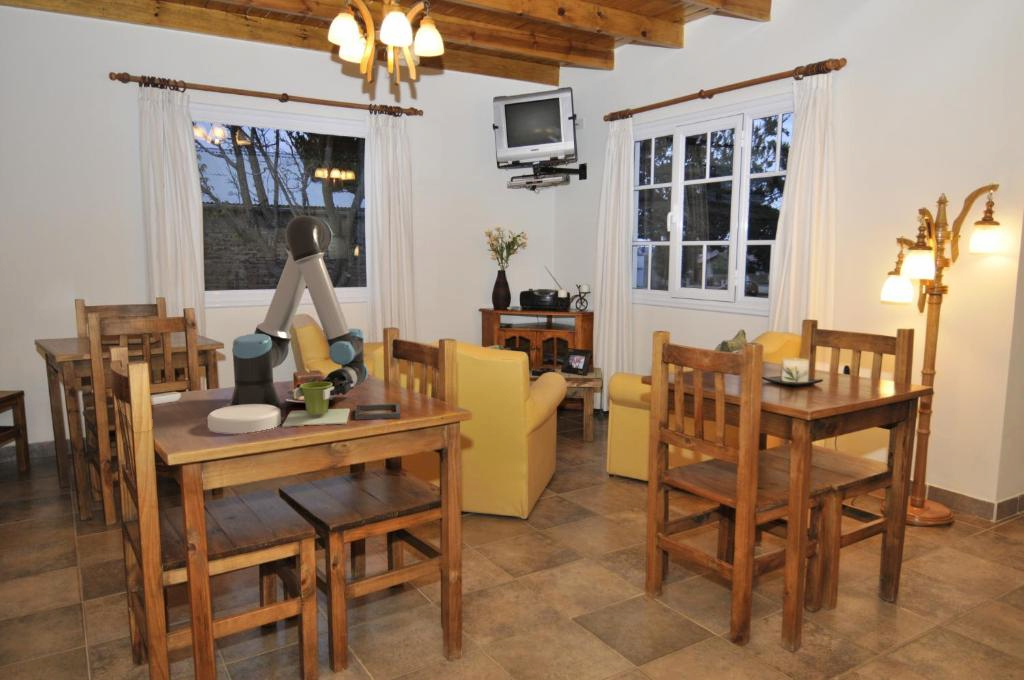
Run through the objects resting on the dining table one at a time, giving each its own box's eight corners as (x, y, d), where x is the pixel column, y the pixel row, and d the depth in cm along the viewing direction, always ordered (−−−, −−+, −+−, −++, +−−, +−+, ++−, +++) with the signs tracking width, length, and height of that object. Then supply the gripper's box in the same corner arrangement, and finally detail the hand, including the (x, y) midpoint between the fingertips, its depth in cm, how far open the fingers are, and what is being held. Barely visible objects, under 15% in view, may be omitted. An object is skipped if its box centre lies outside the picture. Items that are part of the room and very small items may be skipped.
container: (293, 426, 208) (292, 411, 208) (224, 439, 194) (223, 423, 194) (263, 415, 223) (262, 400, 222) (197, 426, 209) (196, 410, 208)
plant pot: (322, 417, 211) (321, 388, 209) (294, 415, 213) (293, 386, 212) (339, 410, 219) (338, 382, 218) (312, 408, 222) (311, 380, 221)
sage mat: (282, 427, 206) (282, 425, 206) (290, 412, 224) (290, 410, 224) (346, 424, 209) (346, 422, 209) (349, 410, 227) (349, 408, 227)
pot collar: (355, 420, 214) (354, 415, 214) (357, 409, 227) (356, 405, 227) (400, 418, 217) (400, 413, 216) (399, 408, 230) (399, 403, 229)
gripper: (372, 392, 232) (343, 408, 210) (311, 390, 235) (276, 405, 213) (371, 369, 231) (343, 383, 209) (310, 368, 234) (275, 381, 212)
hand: (309, 394), depth 211 cm, fingers closed on plant pot, 8 cm apart
